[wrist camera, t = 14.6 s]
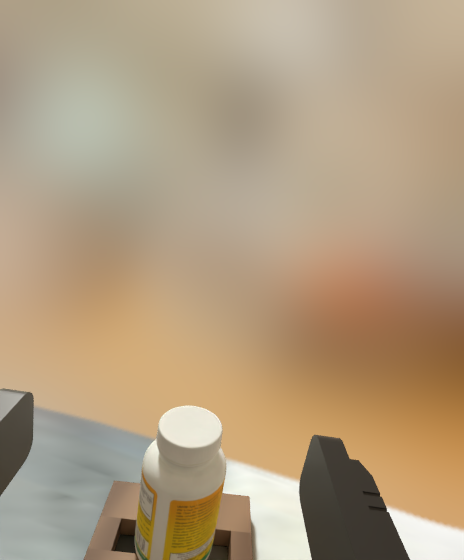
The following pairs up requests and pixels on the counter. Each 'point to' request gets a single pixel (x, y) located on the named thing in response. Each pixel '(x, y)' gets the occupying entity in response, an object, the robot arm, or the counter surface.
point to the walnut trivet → (123, 516)
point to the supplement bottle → (181, 487)
